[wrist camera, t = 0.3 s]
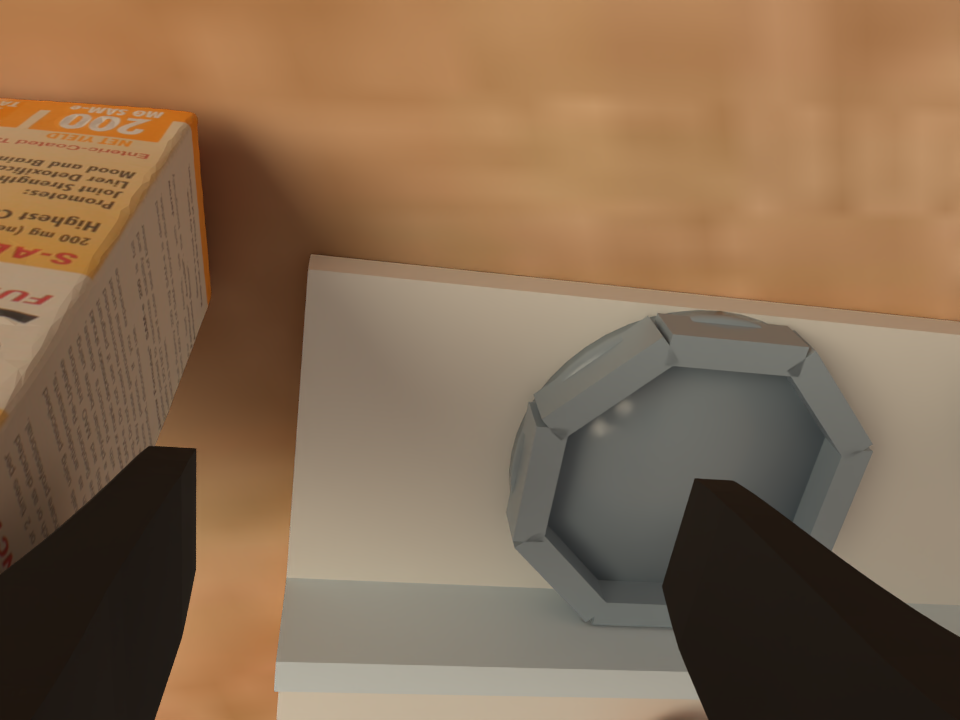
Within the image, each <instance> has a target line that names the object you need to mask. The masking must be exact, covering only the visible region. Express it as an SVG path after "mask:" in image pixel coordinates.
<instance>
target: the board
mask: <svg viewBox="0 0 960 720" xmlns="http://www.w3.org/2000/svg"><path fill="white" fill-rule="evenodd" d="M692 310H710V311H724V312H730V313H736V314H742V315H745V316H748V317H751V318H754V319H758V320H761V321H763V322H765V323H767V324H773V325H783V326H788V327H789V328H790V329H791V330H792V331H793V330H795V331H796V332H797V333H798V334H799V335H800V336H801V337H802V338H803V339H804V340H805V341H806V342H807V343H808V344H809V345H810V346H812V347H813V348H814V349H815V350H816V351H817V353H818V355H819V356H820V358H821V360H822V361H823V363H824V365H825V366H826V368H827V369H828V371H829V373H830V374H831V376H832V378H833V379H834V381H835V383H836V384H837V386H838V388H839V389H840V391H841V393H842V394H843V396H844V397H845V399H846V401H847V402H848V404H849V406H850V407H851V409H852V411H853V412H854V414H855V416H856V417H857V419H858V421H859V422H860V424H861V425H862V427H863V429H864V430H865V432H866V434H867V435H868V437H869V439H870V440H871V442H872V444H873V445H871V446H869V448H870V449H871V450H872V451H873V453H872V455H871V458H870V460H869V463H868V465H867V467H866V470H865V472H864V475H863V477H862V479H861V482H860V484H859V487H858V489H857V491H856V494H855V496H854V499H853V501H852V503H851V506H850V508H849V511H848V513H847V516H846V518H845V520H844V523H843V525H842V528H841V530H840V532H839V535H838V537H837V540H836V542H835V544H834V547H833V549H832V552H833V553H835V554H836V555H837V556H839V557H840V558H841V559H843V560H844V561H846V562H847V563H848V564H850V565H851V566H852V567H854V568H855V569H857V570H858V571H859V572H861V573H862V574H864V575H865V576H867V577H868V578H869V579H871V580H872V581H874V582H875V583H876V584H878V585H879V586H881V587H882V588H884V589H885V590H887V591H888V592H890V593H891V594H893V595H894V596H896V597H897V598H899V599H900V600H902V601H903V602H905V603H913V604H937V605H960V322H959V321H949V320H940V319H930V318H920V317H911V316H901V315H892V314H882V313H872V312H863V311H853V310H844V309H834V308H824V307H815V306H805V305H795V304H786V303H776V302H767V301H757V300H747V299H738V298H728V297H719V296H709V295H699V294H690V293H680V292H670V291H661V290H651V289H642V288H632V287H622V286H613V285H603V284H594V283H584V282H574V281H565V280H555V279H545V278H536V277H526V276H517V275H507V274H497V273H488V272H478V271H469V270H459V269H449V268H440V267H430V266H421V265H411V264H401V263H392V262H382V261H372V260H363V259H353V258H344V257H334V256H324V255H315V254H311V255H310V261H309V267H308V278H307V292H306V307H305V321H304V335H303V350H302V364H301V378H300V392H299V407H298V421H297V435H296V450H295V464H294V478H293V493H292V507H291V521H290V536H289V550H288V564H287V578H305V579H329V580H354V581H378V582H402V583H427V584H451V585H475V586H500V587H524V588H548V589H553V588H552V587H551V585H550V584H549V583H548V582H547V581H546V580H545V579H544V578H543V577H542V576H541V575H540V574H539V573H538V572H537V571H536V570H535V569H534V568H533V567H532V566H531V565H530V564H529V563H528V561H527V560H526V559H525V558H524V557H523V556H522V555H521V554H520V553H519V552H518V551H517V550H516V549H515V548H514V544H513V541H512V536H511V532H510V528H509V523H508V519H507V515H506V510H507V505H508V500H509V495H510V485H509V467H510V459H511V452H512V448H513V444H514V441H515V437H516V434H517V431H518V429H519V427H520V424H521V422H522V420H523V417H524V415H525V413H526V411H527V406H528V402H533V400H534V395H533V394H535V393H536V392H538V391H539V390H541V389H542V388H543V386H544V385H545V384H546V383H547V381H548V380H549V379H550V378H551V377H552V376H553V375H554V374H555V373H556V372H557V371H558V370H559V369H560V368H561V367H562V366H563V365H564V364H565V363H566V362H567V361H568V360H570V359H571V358H572V357H573V356H575V355H576V354H577V353H578V352H580V351H581V350H582V349H584V348H585V347H586V346H588V345H590V344H591V343H593V342H595V341H596V340H598V339H600V338H601V337H603V336H604V335H606V334H608V333H611V332H613V331H615V330H617V329H619V328H621V327H624V326H626V325H628V324H631V323H634V322H637V321H640V320H642V319H644V318H645V317H647V316H649V317H653V316H657V313H662V314H667V313H672V312H681V311H692ZM277 720H708V718H707V716H706V713H705V711H704V709H703V706H702V704H701V702H700V700H691V699H638V698H586V697H534V696H481V695H429V694H377V693H325V692H279V693H278V708H277Z"/></svg>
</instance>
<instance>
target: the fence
mask: <svg viewBox="0 0 960 720" xmlns="http://www.w3.org/2000/svg"><path fill="white" fill-rule="evenodd" d="M906 604H908V605H909V606H911V607H912V608H914V609H915V610H917V611H918V612H920V613H921V614H923V615H924V616H926V617H928V618H929V619H931V620H932V621H934V622H936V623H937V624H939V625H940V626H942V627H944V628H945V629H947V630H949V631H951V632H952V633H954V634H956V635H957V636H959V637H960V605H937V604H913V603H906ZM274 692H325V693H377V694H429V695H481V696H534V697H586V698H638V699H691V700H700V699H699V697H698V695H697V692H696V690H695V687H694V685H693V683H692V680H691V678H690V676H689V673H688V671H687V668H686V666H685V664H684V661H683V659H682V656H681V654H680V651H679V649H678V645H677V642H676V638H675V635H674V631H673V628H671V627H642V626H612V625H592V622H591V619H590V620H588V621H587V622H585V621H584V620H583V619H582V618H581V617H580V616H579V615H578V614H577V613H576V612H575V611H574V609H573V608H572V607H571V606H570V605H569V604H568V603H567V602H566V601H565V600H564V599H563V598H562V597H561V596H560V595H559V594H558V593H557V592H556V591H555V590H554V589H548V588H524V587H500V586H475V585H451V584H427V583H402V582H378V581H354V580H329V579H305V578H286V586H285V594H284V602H283V610H282V618H281V626H280V634H279V642H278V650H277V658H276V670H275V685H274Z"/></svg>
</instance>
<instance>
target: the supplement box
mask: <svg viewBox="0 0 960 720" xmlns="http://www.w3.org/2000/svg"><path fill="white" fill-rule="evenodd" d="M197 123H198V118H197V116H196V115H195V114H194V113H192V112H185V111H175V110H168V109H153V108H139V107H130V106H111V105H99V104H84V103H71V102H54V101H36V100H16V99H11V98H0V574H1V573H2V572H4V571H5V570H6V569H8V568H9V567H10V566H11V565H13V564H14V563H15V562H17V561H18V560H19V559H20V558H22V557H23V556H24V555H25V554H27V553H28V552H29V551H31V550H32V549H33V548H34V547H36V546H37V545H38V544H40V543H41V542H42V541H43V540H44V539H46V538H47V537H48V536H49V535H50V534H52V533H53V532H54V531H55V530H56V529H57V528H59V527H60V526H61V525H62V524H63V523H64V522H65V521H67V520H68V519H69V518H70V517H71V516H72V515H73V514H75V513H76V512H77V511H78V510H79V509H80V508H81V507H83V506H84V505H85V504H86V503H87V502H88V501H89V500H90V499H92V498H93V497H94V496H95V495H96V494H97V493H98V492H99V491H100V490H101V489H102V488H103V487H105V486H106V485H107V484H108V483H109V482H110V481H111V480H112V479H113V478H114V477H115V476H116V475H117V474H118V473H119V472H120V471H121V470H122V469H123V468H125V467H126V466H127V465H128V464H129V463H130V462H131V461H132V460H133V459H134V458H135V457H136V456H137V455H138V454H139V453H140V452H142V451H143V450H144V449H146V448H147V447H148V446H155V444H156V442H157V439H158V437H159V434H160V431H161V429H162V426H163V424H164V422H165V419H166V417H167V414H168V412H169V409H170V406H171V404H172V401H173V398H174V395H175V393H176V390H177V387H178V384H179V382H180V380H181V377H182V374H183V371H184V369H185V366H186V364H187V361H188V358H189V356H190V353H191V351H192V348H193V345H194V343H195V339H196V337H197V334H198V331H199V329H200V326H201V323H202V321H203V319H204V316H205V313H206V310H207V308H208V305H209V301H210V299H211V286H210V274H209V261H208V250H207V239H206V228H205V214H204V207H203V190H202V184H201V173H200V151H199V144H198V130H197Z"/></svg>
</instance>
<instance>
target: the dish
mask: <svg viewBox="0 0 960 720" xmlns="http://www.w3.org/2000/svg"><path fill="white" fill-rule="evenodd" d="M533 395H534V400H533V402H528V406H527V411H526V413H525V415H524V417H523V420H522V422H521V424H520V427H519V429H518V431H517V434H516V437H515V441H514V444H513V448H512V452H511V459H510V467H509V485H510V495H509V500H508V505H507V510H506V515H507V519H508V523H509V528H510V532H511V536H512V541H513V544H514V548H515V549H516V550H517V551H518V552H519V553H520V554H521V555H522V556H523V557H524V558H525V559H526V560H527V561H528V563H529V564H530V565H531V566H532V567H533V568H534V569H535V570H536V571H537V572H538V573H539V574H540V575H541V576H542V577H543V578H544V579H545V580H546V581H547V582H548V583H549V584H550V585H551V587H552V588H553V589H554V590H555V591H556V592H557V593H558V594H559V595H560V596H561V597H562V598H563V599H564V600H565V601H566V602H567V603H568V604H569V605H570V606H571V607H572V608H573V609H574V611H575V612H576V613H577V614H578V615H579V616H580V617H581V618H582V619H583V620H584V621H585V622H587V621H588V620H590V619H591V622H592V625H612V626H642V627H671V628H672V624H671V621H670V617H669V613H668V609H667V605H666V601H665V597H664V593H663V589H662V584H663V581H664V578H665V574H666V571H667V568H668V564H669V561H670V558H671V555H672V551H673V548H674V545H675V541H676V538H677V535H678V531H679V528H680V525H681V522H682V518H683V515H684V512H685V508H686V505H687V502H688V498H689V495H690V492H691V489H692V485H693V482H694V479H695V478H700V479H717V480H733V481H735V482H737V483H738V484H740V485H742V486H743V487H745V488H746V489H748V490H749V491H751V492H752V493H754V494H755V495H757V496H758V497H759V498H761V499H762V500H764V501H765V502H766V503H768V504H769V505H770V506H772V507H773V508H775V509H776V510H777V511H779V512H780V513H781V514H783V515H784V516H785V517H787V518H788V519H789V520H791V521H792V522H793V523H795V524H796V525H797V526H799V527H800V528H801V529H803V530H804V531H805V532H807V533H808V534H809V535H811V536H812V537H813V538H815V539H816V540H817V541H819V542H820V543H821V544H823V545H824V546H825V547H827V548H828V549H829V550H831V551H832V549H833V547H834V544H835V542H836V540H837V537H838V535H839V532H840V530H841V528H842V525H843V523H844V520H845V518H846V516H847V513H848V511H849V508H850V506H851V503H852V501H853V499H854V496H855V494H856V491H857V489H858V487H859V484H860V482H861V479H862V477H863V475H864V472H865V470H866V467H867V465H868V463H869V460H870V458H871V455H872V453H873V451H872V450H871V449H870V448H869V446H871V445H873V444H872V442H871V440H870V439H869V437H868V435H867V434H866V432H865V430H864V429H863V427H862V425H861V424H860V422H859V421H858V419H857V417H856V416H855V414H854V412H853V411H852V409H851V407H850V406H849V404H848V402H847V401H846V399H845V397H844V396H843V394H842V393H841V391H840V389H839V388H838V386H837V384H836V383H835V381H834V379H833V378H832V376H831V374H830V373H829V371H828V369H827V368H826V366H825V365H824V363H823V361H822V360H821V358H820V356H819V355H818V353H817V351H816V350H815V349H814V348H813V347H812V346H810V345H809V344H808V343H807V342H806V341H805V340H804V339H803V338H802V337H801V336H800V335H799V334H798V333H797V332H796V331H795V330H793V331H792V330H791V329H790V328H789V327H788V326H783V325H773V324H767V323H765V322H763V321H761V320H758V319H754V318H751V317H748V316H745V315H742V314H736V313H730V312H724V311H710V310H692V311H681V312H672V313H667V314H662V313H657V316H653V317H649V316H647V317H645V318H644V319H642V320H640V321H637V322H634V323H631V324H628V325H626V326H624V327H621V328H619V329H617V330H615V331H613V332H611V333H608V334H606V335H604V336H603V337H601V338H600V339H598V340H596V341H595V342H593V343H591V344H590V345H588V346H586V347H585V348H584V349H582V350H581V351H580V352H578V353H577V354H576V355H575V356H573V357H572V358H571V359H570V360H568V361H567V362H566V363H565V364H564V365H563V366H562V367H561V368H560V369H559V370H558V371H557V372H556V373H555V374H554V375H553V376H552V377H551V378H550V379H549V380H548V381H547V383H546V384H545V385H544V386H543V388H542V389H541V390H539V391H538V392H536V393H535V394H533Z"/></svg>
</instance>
